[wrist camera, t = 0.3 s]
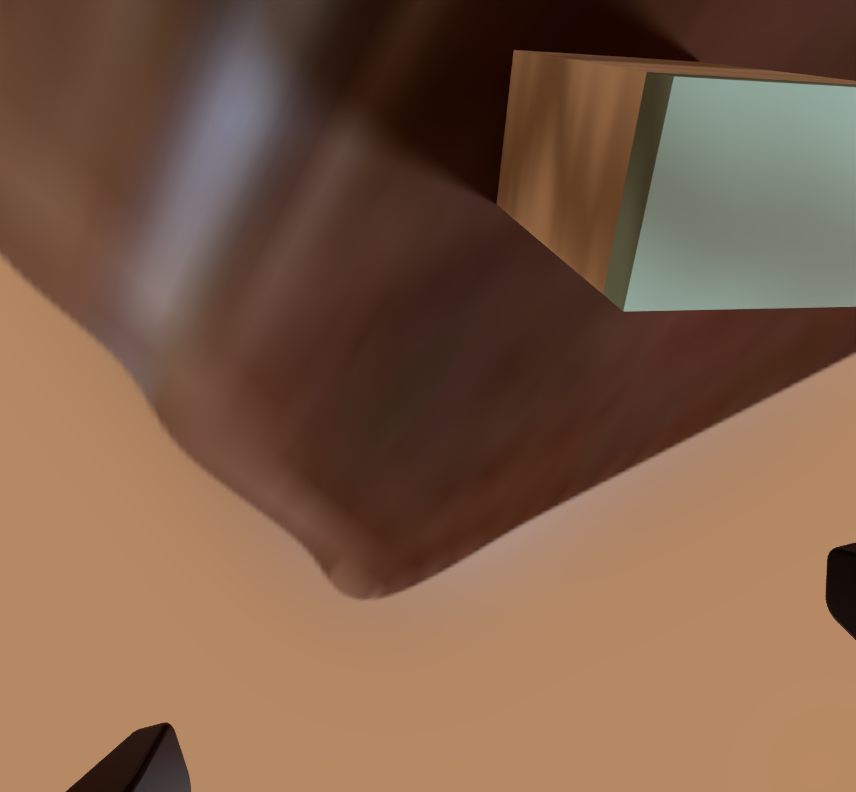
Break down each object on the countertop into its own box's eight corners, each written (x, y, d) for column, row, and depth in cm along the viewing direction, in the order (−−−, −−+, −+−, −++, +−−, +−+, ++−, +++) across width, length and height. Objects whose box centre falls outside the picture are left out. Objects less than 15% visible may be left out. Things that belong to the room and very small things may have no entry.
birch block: (513, 49, 20) (673, 76, 12) (699, 61, 21) (953, 92, 13) (496, 204, 22) (623, 311, 14) (666, 207, 23) (868, 306, 15)
